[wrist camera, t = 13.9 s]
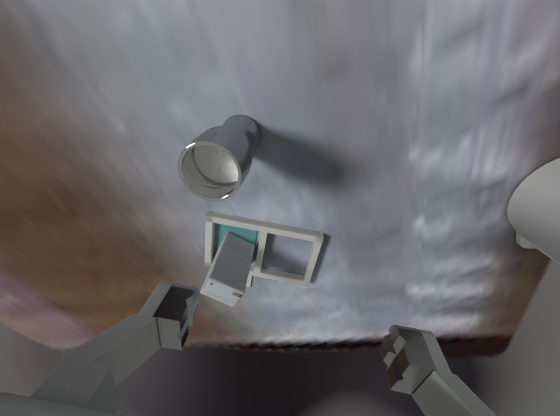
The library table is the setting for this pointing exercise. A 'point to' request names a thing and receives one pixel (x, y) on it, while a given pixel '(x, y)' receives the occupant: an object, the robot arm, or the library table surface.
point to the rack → (260, 244)
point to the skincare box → (229, 270)
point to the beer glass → (220, 158)
